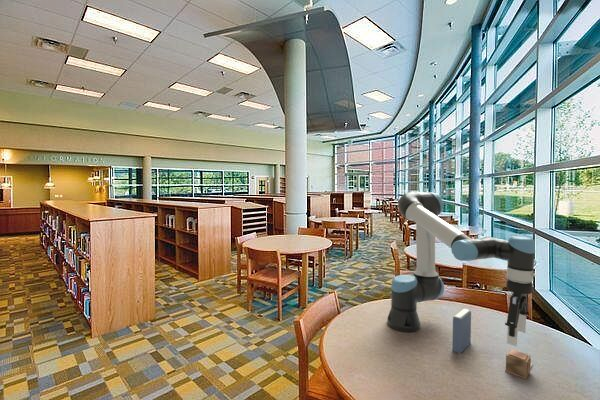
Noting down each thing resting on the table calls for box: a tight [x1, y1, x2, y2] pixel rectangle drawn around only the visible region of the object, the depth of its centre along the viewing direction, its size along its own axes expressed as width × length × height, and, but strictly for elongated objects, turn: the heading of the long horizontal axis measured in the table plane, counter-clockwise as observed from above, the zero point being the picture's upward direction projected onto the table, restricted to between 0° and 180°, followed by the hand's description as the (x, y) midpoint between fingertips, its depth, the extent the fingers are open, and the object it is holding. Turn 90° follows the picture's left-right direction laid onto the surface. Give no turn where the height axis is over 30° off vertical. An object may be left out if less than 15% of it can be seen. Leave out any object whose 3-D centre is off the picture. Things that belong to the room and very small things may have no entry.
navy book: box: [451, 308, 472, 355], centre depth 122 cm, size 3×12×14 cm, turn 133°
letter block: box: [505, 348, 532, 379], centre depth 105 cm, size 6×6×6 cm
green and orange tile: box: [504, 368, 527, 380], centre depth 106 cm, size 6×6×1 cm
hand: (516, 337), depth 106 cm, fingers open, 13 cm apart
